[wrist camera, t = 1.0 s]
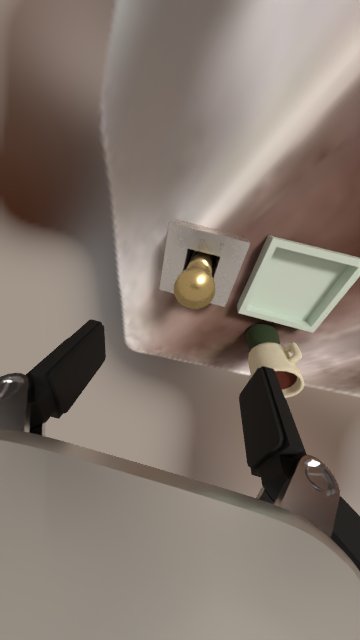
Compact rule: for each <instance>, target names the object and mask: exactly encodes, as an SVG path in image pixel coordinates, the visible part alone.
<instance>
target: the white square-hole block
mask: <svg viewBox="0 0 360 640" xmlns="http://www.w3.org/2000/svg"><path fill="white" fill-rule="evenodd" d="M249 245H250V242H249V241H248V240H247V239H246V238H245V237H244V236H240V235H236V234H232V233H228V232H224V231H220V230H216V229H212V228H208V227H204V226H200V225H196V224H192V223H188V222H184V221H180V220H175V221H172V222H169V225H168V232H167V239H166V246H165V253H164V260H163V267H162V274H161V281H160V288H159V290H162V291H166V292H170V293H173V294H174V284H175V281H176V279H177V277H178V276H179V274H180V273H181V272H182V271H184V270H185V269H186V267H187V263H188V258H189V254H190V250H195V251H199V252H203V253H207V254H211V255H215V256H217V259H216V262H215V265H214V268H213V271H212V277H213V279H214V281H215V295H214V298H213V300H212V301H211V303H212V304H215V305H219V306H223V307H225V305H226V303H227V300H228V298H229V295H230V293H231V290H232V288H233V285H234V283H235V280H236V278H237V275H238V273H239V270H240V268H241V265H242V263H243V260H244V258H245V255H246V253H247V250H248V248H249Z"/></svg>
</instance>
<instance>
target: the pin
mask: <svg viewBox="0 0 360 640" xmlns="http://www.w3.org/2000/svg"><path fill="white" fill-rule="evenodd" d="M174 295H175V297H176V299H177V301H178V302H179V303H180V304H181V305H183V306H184V307H186V308H189V309H201V308H203V307H206V306H207V305H208V304H210V303H211V301H212V300H213V298H214V295H215V281H214V279H213V277H212V255H211V254H207V253H203V252H199V251H195V252H194V254H193V256H192V258H191V260H190V262H189V264H188V266H187V269H185V270H184V271H182V272H181V273H180V274H179V276H178V277H177V279H176V281H175V284H174Z"/></svg>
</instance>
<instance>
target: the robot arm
mask: <svg viewBox="0 0 360 640" xmlns="http://www.w3.org/2000/svg"><path fill="white" fill-rule="evenodd" d="M105 357H106V355H105V336H104V326H103V325H102V323H101V322H99V321H95V320H89V321H88V322H87V323H86V324H85V325H83V326H82V327H81V328H80V329H79V330H78V331H76V333H74V334H73V335H72V336H71V337H70V338H68V339H66V340H65V341H64V342H63V343H62V344H60V345H59V346H58V347H57V348H56V349H55V350H54V351H53V352H52V353H50V354H49V355H48V356H47V357H46V358H44V359H43V360H42V361H41V362H40V363H39V364H38V365H37V366H35V367H34V368H33V369H32V370H31V371H30V372H29V373H27V374H26V375H24V374H22V373H12V374H7V375H4V376H1V377H0V640H360V516H359V515H358V514H357V513H356V512H355V511H354V510H353V509H352V508H351V507H350V506H349V505H348V503H346V501H345V500H344V499H343V498H342V497H340V490H339V486H338V483H337V481H336V479H335V477H334V475H333V474H332V473H331V471H330V470H329V469H328V467H326V465H325V464H323V463H322V462H321V461H320V460H319V459H317V458H315V457H313V456H310V455H307V454H306V452H305V449H304V446H303V444H302V441H301V438H300V436H299V433H298V430H297V428H296V425H295V423H294V420H293V417H292V414H291V412H290V409H289V406H288V404H287V401H286V399H285V397H284V394H283V392H282V389H281V386H280V384H279V381H278V378H277V376H276V373H275V370H274V369H272V368H269V367H265V366H262V367H261V368H258V369H257V370H256V371H255V373H254V374H253V376H252V377H251V379H250V380H249V382H248V383H247V385H246V386H245V388H244V389H243V391H242V392H241V394H240V396H239V402H240V409H241V418H242V425H243V433H244V441H245V449H246V457H247V463H248V466H249V467H251V473H252V475H255V476H258V477H261V480H262V485H263V487H262V488H261V490H260V492H259V494H258V495H257V497H256V498H253V497H250V496H247V495H243V494H240V493H237V492H234V491H231V490H228V489H224V488H221V487H218V486H214V485H211V484H208V483H204V482H200V481H197V480H194V479H190V478H187V477H184V476H181V475H177V474H174V473H170V472H167V471H164V470H160V469H157V468H154V467H150V466H147V465H143V464H140V463H137V462H133V461H129V460H126V459H123V458H119V457H116V456H113V455H109V454H105V453H102V452H99V451H95V450H92V449H88V448H85V447H81V446H78V445H74V444H71V443H67V442H64V441H60V440H56V439H52V438H49V437H45V422H46V421H47V420H48V419H49V418H50V416H51V417H55V418H60V417H61V415H62V414H63V413H66V412H68V410H69V409H70V407H71V406H72V405H73V403H74V402H75V401H76V399H77V398H78V396H79V395H80V394H81V393H82V391H83V390H84V388H85V387H86V386H87V384H88V383H89V382H90V380H91V379H92V377H93V376H94V375H95V373H96V372H97V370H98V369H99V368H100V366H101V365H102V363H103V362H104V360H105Z"/></svg>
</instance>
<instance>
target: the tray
mask: <svg viewBox="0 0 360 640" xmlns="http://www.w3.org/2000/svg"><path fill="white" fill-rule="evenodd" d="M359 276H360V258H358V257H355V256H351V255H347V254H343V253H339V252H335V251H331V250H327V249H323V248H319V247H315V246H311V245H307V244H303V243H298V242H294V241H290V240H286V239H282V238H278V237H274V236H270V235H268V236H267V239H266V241H265V243H264V245H263V247H262V250H261V252H260V254H259V256H258V259H257V261H256V263H255V265H254V268H253V270H252V272H251V274H250V277H249V279H248V281H247V283H246V286H245V288H244V290H243V292H242V295H241V297H240V299H239V301H238V303H237V309H238V313H240V314H244V315H248V316H252V317H255V318H259V319H263V320H267V321H271V322H274V323H278V324H282V325H286V326H290V327H293V328H297V329H301V330H305V331H309V332H314V331H315V330H316V329H317V327H318V326H319V325H320V324H321V323H322V321H323V320H324V319H325V318H326V317H327V315H328V314H329V313H330V312H331V310H332V309H333V308H334V307H335V306H336V304H337V303H338V302H339V301H340V300H341V298H342V297H343V296H344V295H345V293H346V292H347V291H348V290H349V289H350V287H351V286H352V285H353V284H354V282H355V281H356V280H357V279H358V278H359Z"/></svg>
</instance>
